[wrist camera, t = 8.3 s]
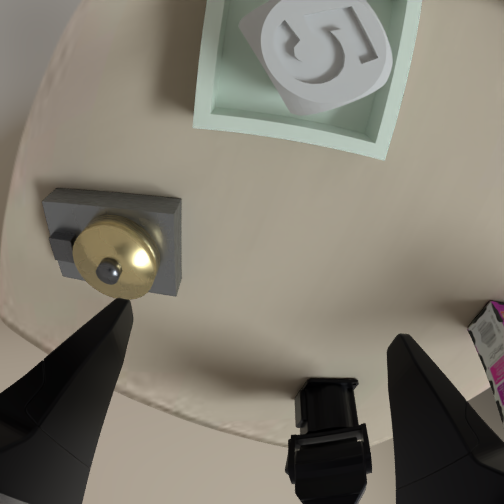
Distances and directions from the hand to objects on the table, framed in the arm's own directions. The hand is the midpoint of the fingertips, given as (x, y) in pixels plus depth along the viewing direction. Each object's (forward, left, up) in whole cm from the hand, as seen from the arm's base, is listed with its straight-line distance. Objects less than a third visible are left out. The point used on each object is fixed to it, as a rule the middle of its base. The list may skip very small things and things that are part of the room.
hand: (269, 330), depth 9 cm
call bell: (+10, +6, -11) cm, 16 cm away
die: (-1, -8, -11) cm, 14 cm away
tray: (-1, -8, -11) cm, 14 cm away
